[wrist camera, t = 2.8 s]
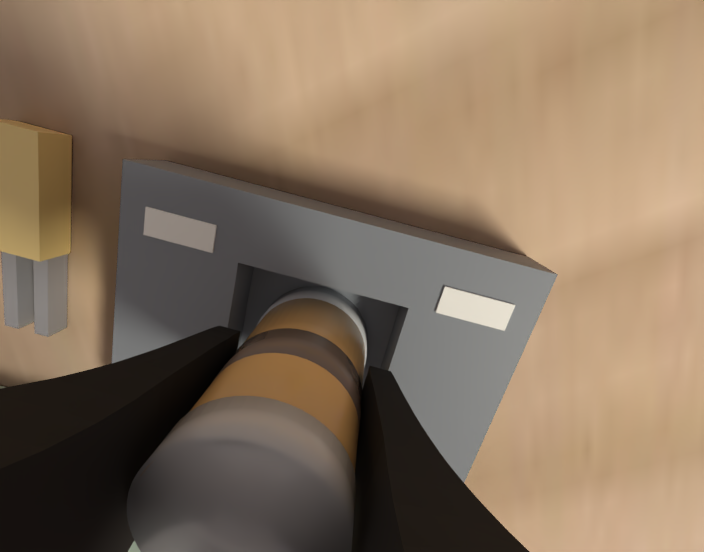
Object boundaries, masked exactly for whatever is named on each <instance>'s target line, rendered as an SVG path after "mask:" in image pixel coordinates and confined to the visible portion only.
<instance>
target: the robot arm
mask: <svg viewBox="0 0 704 552" xmlns="http://www.w3.org/2000/svg"><path fill="white" fill-rule="evenodd" d="M240 332H241V331H238V330H234V329H231V328H227V327H223V326H216V327H213V328H210V329H207V330H205V331H202V332H199V333H197V334H194V335H192V336H189V337H187V338H184V339H181V340H179V341H176V342H173V343H171V344H168V345H165V346H163V347H160V348H157V349H155V350H152V351H149V352H146V353H143V354H140V355H137V356H134V357H131V358H128V359H124V360H121V361H118V362H115V363H112V364H109V365H105V366H102V367H98V368H94V369H91V370H87V371H83V372H79V373H75V374H70V375H66V376H62V377H58V378H53V379H48V380H43V381H38V382H33V383H27V384H22V385H17V386H12V387H6V388H1V389H0V552H128V550H129V549H130V547H131V545H132V543H133V542H134V538H133V536H132V533H131V530H130V527H129V524H128V518H127V498H128V492H129V489H130V486H131V484H132V481H133V479H134V478H135V476H136V474H137V473H138V471H139V470H140V469H141V467H142V466H143V465H144V464H145V462H146V461H147V460H148V459H149V457H150V456H151V455H152V454H153V452H154V451H155V450H156V449H157V447H158V446H159V445H160V444H161V442H162V441H163V440H164V438H165V437H166V436H167V435H168V433H169V432H170V431H171V430H172V428H173V427H174V426H175V425H176V424H177V423H178V421H179V420H180V419H181V418H182V417H184V416H185V415H186V414H187V413H188V412H189V411H190V410H191V409H192V408H193V406H194V405H195V404H196V402H197V401H198V400H199V399H200V397H201V396H202V395H203V394H204V392H205V391H206V390H207V388H208V387H209V386H210V384H211V383H212V381H213V380H214V378H215V377H216V376H217V374H218V373H219V372H220V371H221V369H222V368H223V367H224V365H225V364H226V363H227V362H228V360H229V359H230V358H231V357H232V355H233V354H234V353H235V352H236V350H237V349H238V343H239V338H240ZM355 477H356V499H355V512H354V525H353V537H352V550H351V552H529V551H528V550H527V549H526V548H525V547H524V546H523V545H522V544H521V543H520V542H519V541H518V540H517V539H516V538H515V537H514V536H513V535H512V534H511V533H509V532H508V531H507V530H506V529H505V528H504V526H503V525H502V524H501V523H500V522H499V521H498V520H497V519H496V518H495V517H494V516H493V515H492V514H491V513H490V512H489V511H488V510H487V509H486V507H485V506H484V505H483V504H482V503H481V502H480V501H479V500H478V499H477V498H476V497H475V495H474V494H473V493H472V492H471V491H470V490H469V489H468V487H467V486H466V485H465V484H464V482H463V481H462V480H461V479H460V478H459V476H458V475H457V474H456V473H455V471H454V470H453V469H452V468H451V467H450V465H449V464H448V463H447V461H446V460H445V459H444V457H443V456H442V455H441V453H440V452H439V451H438V449H437V448H436V446H435V445H434V443H433V442H432V440H431V439H430V438H429V436H428V435H427V433H426V432H425V430H424V428H423V427H422V425H421V424H420V422H419V421H418V419H417V417H416V416H415V414H414V412H413V411H412V409H411V407H410V405H409V403H408V402H407V400H406V398H405V396H404V394H403V392H402V391H401V389H400V387H399V385H398V383H397V381H396V379H395V377H394V376H393V374H392V372H391V371H388V370H384V369H381V368H377V367H373V366H369V369H368V373H367V376H366V379H365V383H364V386H363V389H362V406H361V419H360V431H359V438H358V444H357V456H356V467H355Z"/></svg>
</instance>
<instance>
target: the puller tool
mask: <svg viewBox="0 0 704 552" xmlns="http://www.w3.org/2000/svg"><path fill="white" fill-rule="evenodd" d="M71 173H72V135H68V134H65V133H61V132H57V131H53V130H50V129H46V128H42V127H38V126H35V125H31V124H27V123H23V122H20V121H14V120H6V119H0V251H1V253H2V274H3V296H4V317H5V325H6V326H10V327H14V328H17V329H19V328H21V327H24V326H26V325H28V324H30V323H33V322H34V324H35V333H36V334H40V335H44V336H47V337H49V336H51V335H53V334H55V333H57V332H59V331H61V330H62V329H64V328H66V327H67V271H68V254H69V253H70V249H71Z"/></svg>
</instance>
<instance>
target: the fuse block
mask: <svg viewBox="0 0 704 552" xmlns="http://www.w3.org/2000/svg"><path fill="white" fill-rule="evenodd" d="M556 277H557V274H556V273H554V272H552V271H551V270H549V269H547V268H546V267H544V266H543V265H541V264H539V263H538V262H536V261H534V260H533V259H531V258H529V257H527V256H523V255H519V254H516V253H512V252H508V251H504V250H501V249H497V248H493V247H489V246H486V245H482V244H478V243H474V242H471V241H467V240H463V239H459V238H456V237H452V236H448V235H444V234H441V233H437V232H433V231H429V230H426V229H422V228H418V227H414V226H410V225H407V224H403V223H399V222H395V221H392V220H388V219H384V218H380V217H377V216H373V215H369V214H365V213H362V212H358V211H354V210H350V209H347V208H343V207H339V206H335V205H332V204H328V203H324V202H320V201H316V200H313V199H309V198H305V197H301V196H298V195H294V194H290V193H286V192H283V191H279V190H275V189H271V188H268V187H264V186H260V185H256V184H253V183H249V182H245V181H241V180H238V179H234V178H230V177H226V176H223V175H219V174H215V173H211V172H207V171H204V170H200V169H196V168H192V167H189V166H185V165H181V164H177V163H174V162H170V161H166V160H138V159H123V165H122V183H121V201H120V220H119V238H118V256H117V274H116V293H115V311H114V329H113V348H112V363H115V362H118V361H121V360H124V359H128V358H131V357H134V356H137V355H140V354H143V353H146V352H149V351H152V350H155V349H157V348H160V347H163V346H165V345H168V344H171V343H173V342H176V341H179V340H181V339H184V338H187V337H189V336H192V335H194V334H197V333H199V332H202V331H205V330H207V329H210V328H213V327H216V326H223V327H227V328H231V329H234V330H238V331H241V332H240V338H239V343H238V348H239V347H240V346H241V345H242V344H243V343H244V341H245V340H246V339H247V338H248V336H249V335H250V334H251V332H252V331H253V330H254V329H255V327H256V326H257V323H258V322H259V320H260V319H261V317H262V316H263V315H264V313H265V312H266V311H267V310H268V308H269V307H270V306H271V305H272V304H273V302H274V301H275V300H276V299H277V298H279V297H280V296H281V295H283V294H284V293H286V292H288V291H290V290H293V289H296V288H300V287H307V286H315V287H323V288H327V289H330V290H333V291H335V292H338V293H340V294H341V295H343V296H344V297H346V298H347V299H348V300H350V301H351V302H352V303H353V304H354V305H355V306H356V307H357V309H358V310H359V312H360V313H361V315H362V317H363V319H364V321H365V324H366V327H367V332H368V345H367V358H366V363H365V367H364V374H363V386H364V383H365V379H366V376H367V373H368V369H369V366H373V367H377V368H381V369H384V370H388V371H391V372H392V374H393V376H394V377H395V379H396V381H397V383H398V385H399V387H400V389H401V391H402V392H403V394H404V396H405V398H406V400H407V402H408V403H409V405H410V407H411V409H412V411H413V412H414V414H415V416H416V417H417V419H418V421H419V422H420V424H421V425H422V427H423V428H424V430H425V432H426V433H427V435H428V436H429V438H430V439H431V440H432V442H433V443H434V445H435V446H436V448H437V449H438V451H439V452H440V453H441V455H442V456H443V457H444V459H445V460H446V461H447V463H448V464H449V465H450V467H451V468H452V469H453V470H454V471H455V473H456V474H457V475H458V476H459V478H460V479H461V480H462V481H463V482H465V479H466V477H467V475H468V473H469V471H470V468H471V466H472V464H473V462H474V459H475V457H476V455H477V453H478V451H479V448H480V446H481V444H482V442H483V439H484V437H485V435H486V433H487V431H488V428H489V426H490V424H491V422H492V419H493V417H494V415H495V413H496V411H497V408H498V406H499V404H500V402H501V399H502V397H503V395H504V393H505V391H506V388H507V386H508V384H509V382H510V379H511V377H512V375H513V373H514V371H515V368H516V366H517V364H518V362H519V359H520V357H521V355H522V353H523V350H524V348H525V346H526V344H527V342H528V339H529V337H530V335H531V333H532V330H533V328H534V326H535V324H536V322H537V319H538V317H539V315H540V313H541V310H542V308H543V306H544V304H545V302H546V299H547V297H548V295H549V293H550V290H551V288H552V286H553V284H554V282H555V279H556ZM363 386H362V389H363Z"/></svg>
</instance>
